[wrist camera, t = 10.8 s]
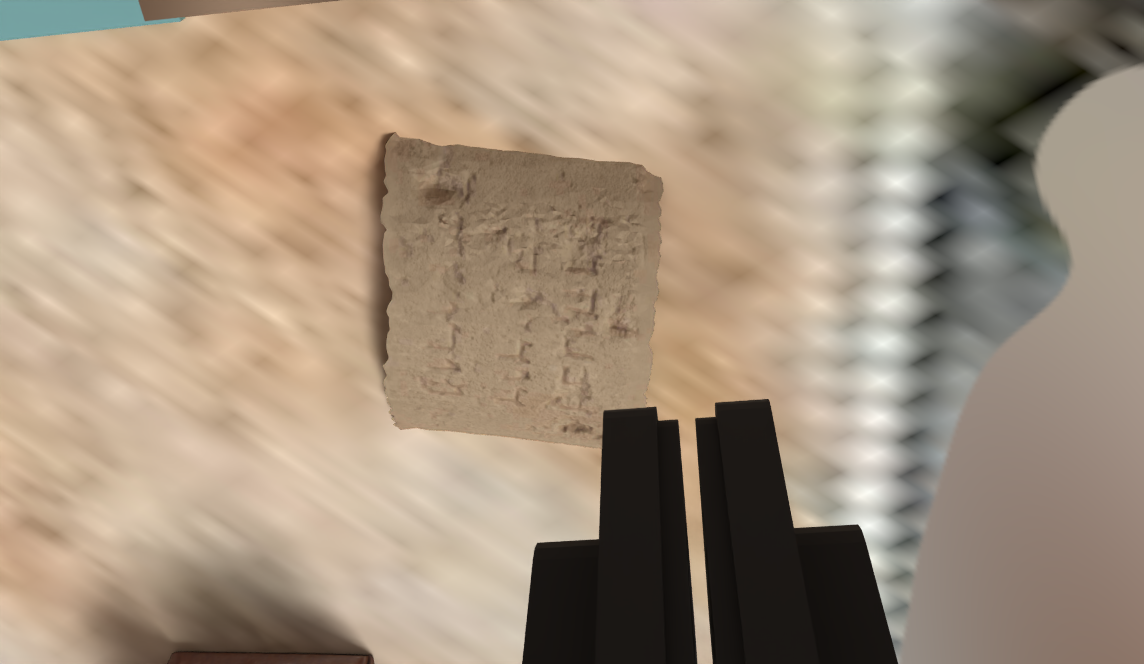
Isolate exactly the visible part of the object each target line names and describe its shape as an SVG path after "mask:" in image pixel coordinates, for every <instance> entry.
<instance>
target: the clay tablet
mask: <svg viewBox="0 0 1144 664" xmlns="http://www.w3.org/2000/svg"><path fill="white" fill-rule="evenodd" d="M385 149H386V154H385V158H384V162H385V173H386V177H385V179H384V184H385V186H386V188H387V189H388V193H387V194H386V195H385V196H384V197H383V208H382V211H381V215H380V220H381V223H382V224H383V225H384V227H385V228H386V229H387V231H385V233H384V239H383V244H382V245H383V260H384V266H385V273H386V275H387V277H388V278H389V287H390V288H391V290H392V292H393V293H392V300H391V302H390V303H389V305H388V308H387V311H386V312H387V314H388V317H389V327H390V330H389V332H388V334H387V339H386V342H387V345H386V348H387V353H388V356H389V358H388V360H387V362H386V363H385V364H384V365H383V367H384V370H385V372H386V374H387V376H386V378H385V379H384V382H383V384H384V386H385V387H386V390H385V394H386V396H387V397H388V398H387V401H388V402H387V403H388V404H389V405H390V407H391V408H392V409H390V411H389V412H388V413H390V414H391V415H393V416H394V417H393V418H392V420H393V421H395V422H396V423H395V424H393V425H395V426H396V427H399V428H400V430H404V429H411V428H420V429H425V430H436V431H453V432H462V433H470V434H479V435H492V436H502V437H512V438H519V439H526V440H534V441H542V442H549V443H563V444H567V445H575V446H583V447H590V448H600V449H602V431H603V412H604V410H617V409H631V408H646V404H647V401H646V400H647V398H646V396H645V395H644V393H645V392H646V391H647V387H648V383H649V380H650V375H651V368H652V359H653V352H652V349H651V347H650V346H649V341H650V338H651V337H652V334H653V331H654V325H655V323H654V315H655V312H656V311H655V308H654V304H655V302H656V300H657V296H658V293H659V289H658V282H657V270H658V266H659V261H660V257H661V255H660V252H659V251H660V245H661V237H660V233H659V232H660V230H661V224H660V221H659V217H660V216H661V208H660V205H659V203H658V202H659V201H660V199H661V196H662V193H663V183H662V181H661V177H657V176H654V175H652V174H651V173H649V172H648V171H646V169H645V168H644V167H643V166H642V165H638V164H634V163H630V162H607V161H594V160H588V159H581V158H562V157H555V156H551V155H544V154H534V153H526V152H519V151H502V150H495V149H486V148H477V147H469V146H463V145H448V146H438V145H434V144H431V143H428V142H426V141H423V140H420V139H410V138H401V137H399V136H398V135H397V133H396V132H395V133H394V134H393V135H392V136H391V137H390V139H389V140H388V142H387V143H386V145H385Z"/></svg>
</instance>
